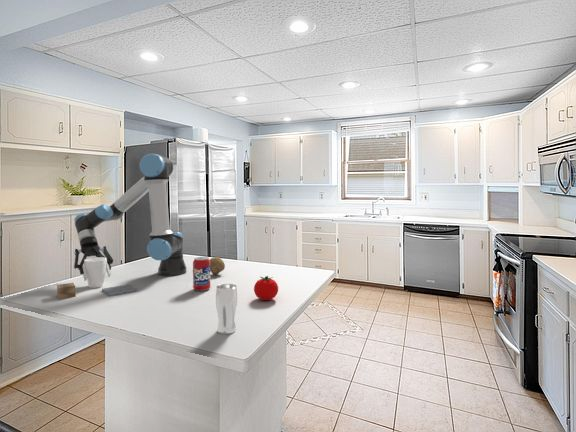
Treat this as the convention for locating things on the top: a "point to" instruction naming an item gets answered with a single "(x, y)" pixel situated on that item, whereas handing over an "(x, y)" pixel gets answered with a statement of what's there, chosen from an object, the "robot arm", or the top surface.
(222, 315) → the beer glass
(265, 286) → the tomato
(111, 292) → the mat
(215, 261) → the natural sponge
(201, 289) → the soda can
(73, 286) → the walnut block
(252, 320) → the top surface
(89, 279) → the foam cup
